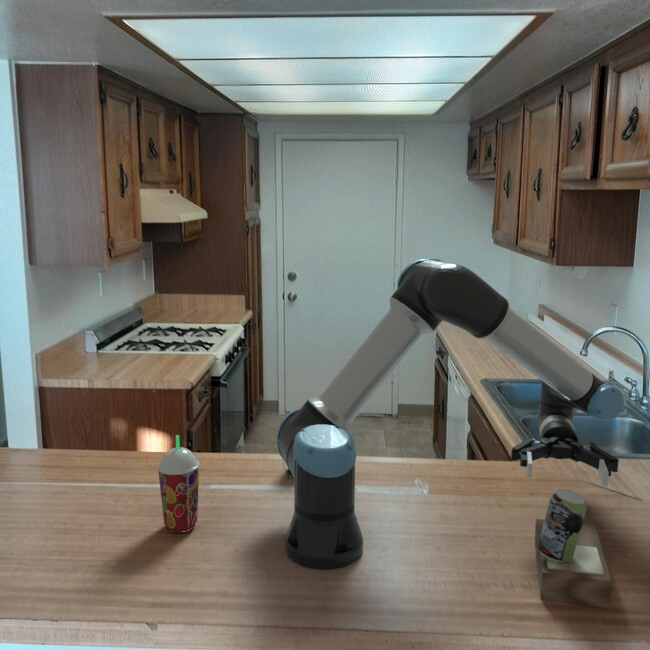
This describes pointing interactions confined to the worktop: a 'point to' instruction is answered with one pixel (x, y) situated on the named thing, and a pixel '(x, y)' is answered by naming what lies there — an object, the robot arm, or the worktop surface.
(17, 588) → the worktop surface
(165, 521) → the smoothie
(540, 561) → the riser
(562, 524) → the beverage can
